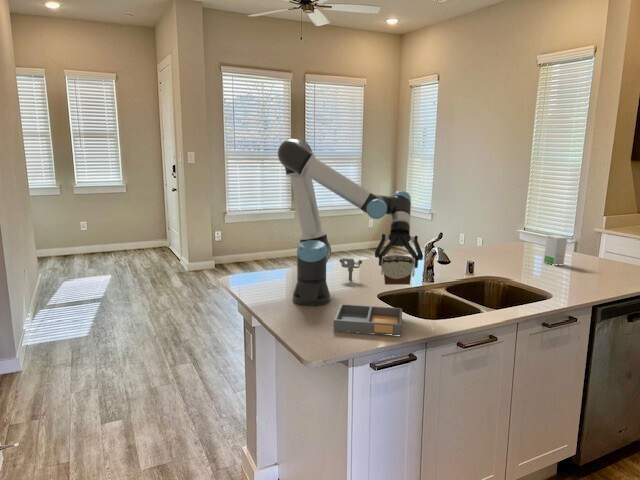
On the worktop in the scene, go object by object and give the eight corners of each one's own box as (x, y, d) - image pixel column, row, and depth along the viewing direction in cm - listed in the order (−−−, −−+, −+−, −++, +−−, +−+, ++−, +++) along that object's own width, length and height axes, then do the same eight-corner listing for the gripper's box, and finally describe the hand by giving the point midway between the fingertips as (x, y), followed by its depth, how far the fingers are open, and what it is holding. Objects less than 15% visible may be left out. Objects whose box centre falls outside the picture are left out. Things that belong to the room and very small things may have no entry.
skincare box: (543, 262, 253) (546, 234, 250) (553, 261, 255) (556, 234, 252) (554, 266, 245) (557, 237, 242) (564, 265, 247) (568, 237, 244)
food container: (411, 280, 176) (412, 254, 174) (414, 284, 170) (414, 258, 168) (379, 280, 177) (379, 254, 175) (380, 284, 171) (381, 258, 169)
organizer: (333, 331, 154) (333, 320, 153) (340, 314, 170) (340, 303, 169) (400, 337, 150) (401, 325, 149) (401, 318, 166) (402, 308, 166)
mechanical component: (360, 281, 212) (361, 260, 210) (338, 280, 214) (339, 259, 212) (361, 279, 215) (362, 259, 213) (339, 278, 217) (340, 257, 215)
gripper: (429, 232, 183) (428, 280, 171) (371, 229, 187) (366, 276, 175) (431, 221, 177) (430, 270, 165) (370, 218, 181) (366, 266, 169)
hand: (397, 273), depth 170 cm, fingers closed on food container, 11 cm apart
